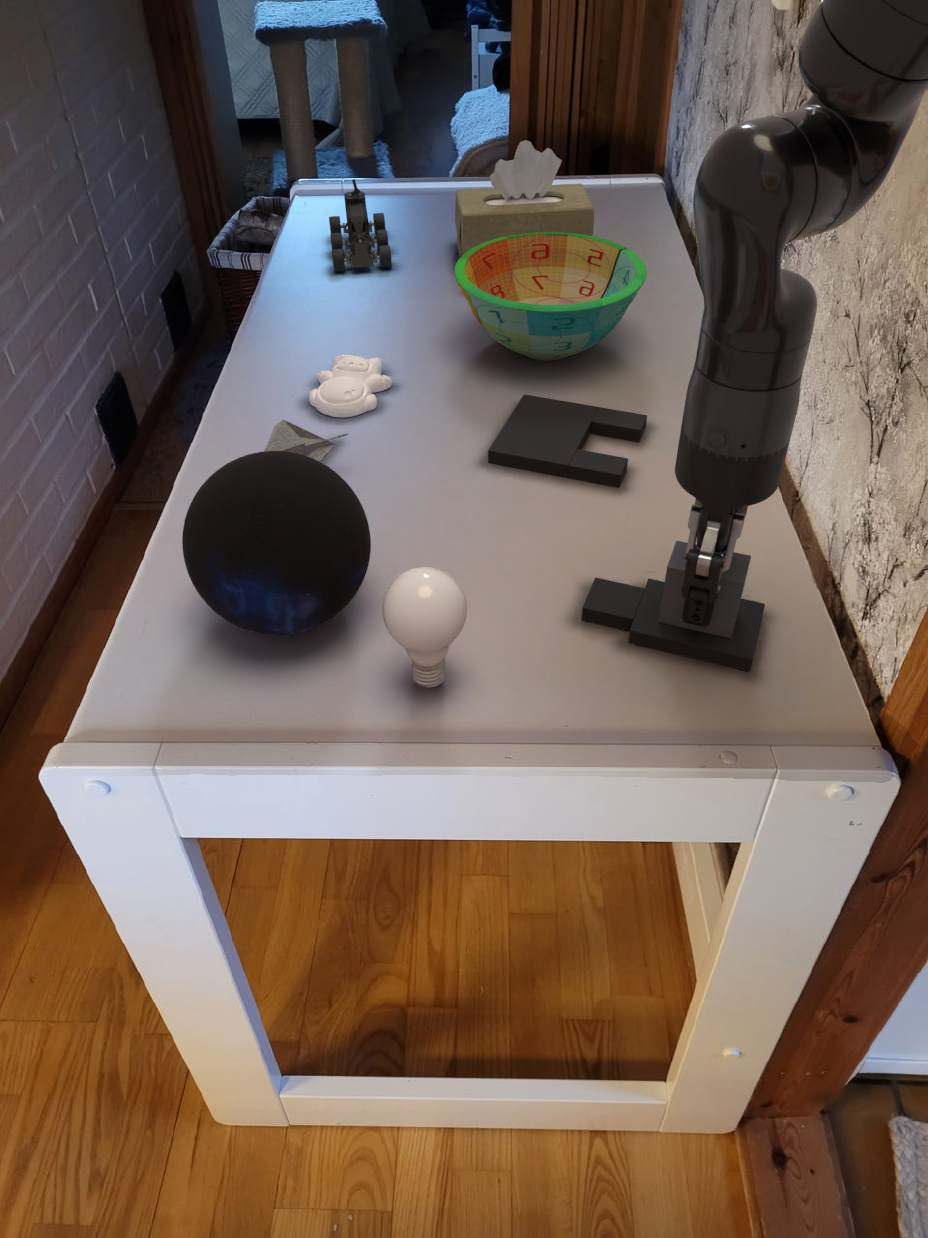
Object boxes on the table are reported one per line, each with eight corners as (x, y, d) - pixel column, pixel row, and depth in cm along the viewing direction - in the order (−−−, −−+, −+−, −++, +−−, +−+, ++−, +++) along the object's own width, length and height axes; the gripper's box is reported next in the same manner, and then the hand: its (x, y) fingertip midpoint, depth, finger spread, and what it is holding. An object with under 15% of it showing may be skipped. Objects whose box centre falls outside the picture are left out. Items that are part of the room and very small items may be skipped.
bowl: (492, 407, 107) (492, 323, 101) (433, 322, 123) (429, 245, 116) (670, 371, 112) (681, 290, 106) (591, 295, 128) (597, 219, 121)
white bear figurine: (403, 371, 114) (401, 347, 112) (366, 422, 106) (363, 398, 104) (336, 361, 116) (333, 338, 114) (294, 411, 108) (290, 387, 106)
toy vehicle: (384, 231, 146) (380, 171, 140) (392, 271, 135) (387, 208, 129) (331, 235, 145) (324, 175, 139) (334, 276, 134) (327, 212, 128)
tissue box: (460, 272, 134) (457, 153, 123) (455, 245, 141) (451, 130, 130) (592, 265, 135) (601, 146, 124) (580, 238, 142) (587, 123, 131)
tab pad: (761, 616, 81) (779, 547, 76) (749, 672, 77) (768, 603, 71) (597, 580, 85) (604, 512, 80) (576, 631, 80) (582, 562, 75)
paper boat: (271, 428, 103) (351, 403, 102) (289, 486, 104) (369, 462, 103) (234, 428, 91) (323, 400, 90) (255, 493, 92) (344, 467, 91)
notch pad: (645, 426, 104) (647, 414, 103) (619, 487, 96) (620, 475, 95) (523, 405, 107) (523, 393, 106) (488, 462, 99) (487, 450, 98)
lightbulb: (448, 643, 80) (444, 540, 72) (482, 693, 76) (481, 589, 68) (378, 668, 78) (366, 564, 70) (408, 721, 74) (398, 617, 66)
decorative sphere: (381, 554, 89) (366, 412, 78) (373, 670, 78) (355, 523, 67) (219, 558, 89) (183, 417, 78) (188, 675, 78) (142, 529, 67)
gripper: (778, 490, 61) (732, 675, 73) (803, 384, 71) (758, 563, 82) (662, 468, 63) (635, 652, 75) (701, 368, 73) (672, 545, 84)
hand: (700, 604), depth 78 cm, fingers closed on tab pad, 3 cm apart
